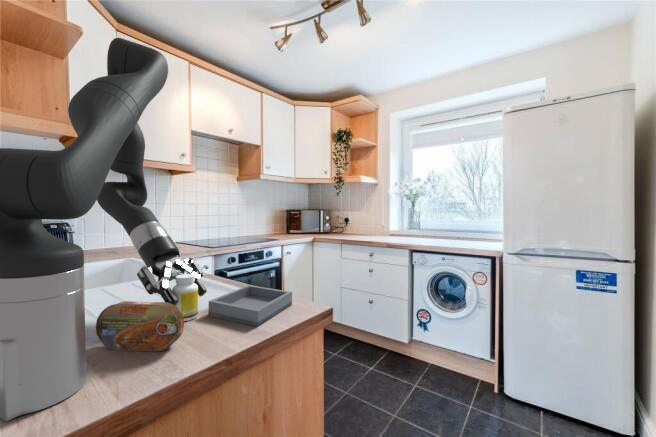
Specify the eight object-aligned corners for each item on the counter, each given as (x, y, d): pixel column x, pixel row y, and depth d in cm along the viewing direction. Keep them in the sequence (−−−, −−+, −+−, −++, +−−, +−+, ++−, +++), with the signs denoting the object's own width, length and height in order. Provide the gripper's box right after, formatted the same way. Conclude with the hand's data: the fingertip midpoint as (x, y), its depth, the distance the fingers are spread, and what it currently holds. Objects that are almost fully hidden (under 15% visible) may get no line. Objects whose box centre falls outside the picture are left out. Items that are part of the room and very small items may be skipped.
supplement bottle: (202, 313, 68) (202, 273, 68) (189, 323, 63) (189, 279, 62) (181, 312, 69) (181, 272, 68) (166, 321, 63) (166, 278, 63)
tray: (257, 327, 62) (258, 311, 62) (208, 315, 67) (208, 301, 67) (291, 304, 76) (292, 292, 76) (248, 297, 81) (248, 284, 81)
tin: (94, 349, 51) (93, 303, 50) (108, 341, 54) (108, 297, 54) (177, 353, 51) (177, 306, 50) (186, 344, 54) (186, 300, 53)
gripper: (131, 237, 61) (170, 298, 57) (187, 232, 74) (221, 281, 71) (116, 259, 63) (152, 319, 60) (172, 250, 77) (205, 299, 73)
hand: (190, 298), depth 65 cm, fingers open, 7 cm apart
